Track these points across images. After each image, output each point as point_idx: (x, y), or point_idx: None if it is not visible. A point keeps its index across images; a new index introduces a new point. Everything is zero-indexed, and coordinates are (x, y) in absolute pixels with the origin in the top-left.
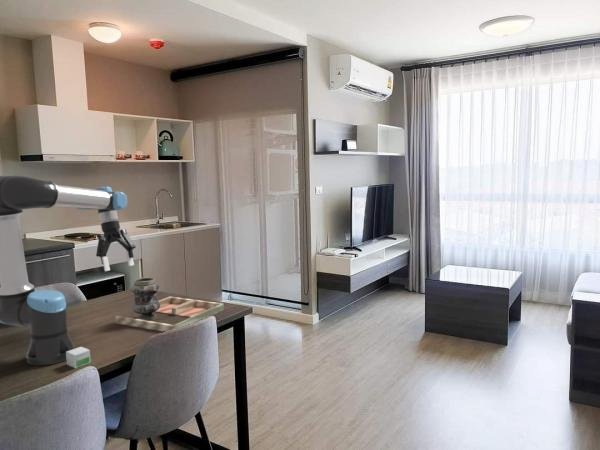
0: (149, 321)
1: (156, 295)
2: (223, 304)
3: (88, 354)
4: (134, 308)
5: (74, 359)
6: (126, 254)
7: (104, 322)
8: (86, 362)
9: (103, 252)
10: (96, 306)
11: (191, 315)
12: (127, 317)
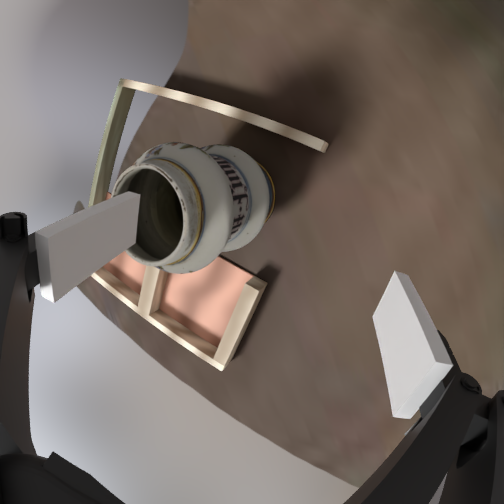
0: (184, 98)
1: (158, 209)
2: None
3: None
4: (242, 152)
5: None
6: (69, 225)
7: (377, 155)
8: None
9: (431, 414)
10: (466, 355)
11: None
12: (271, 130)
